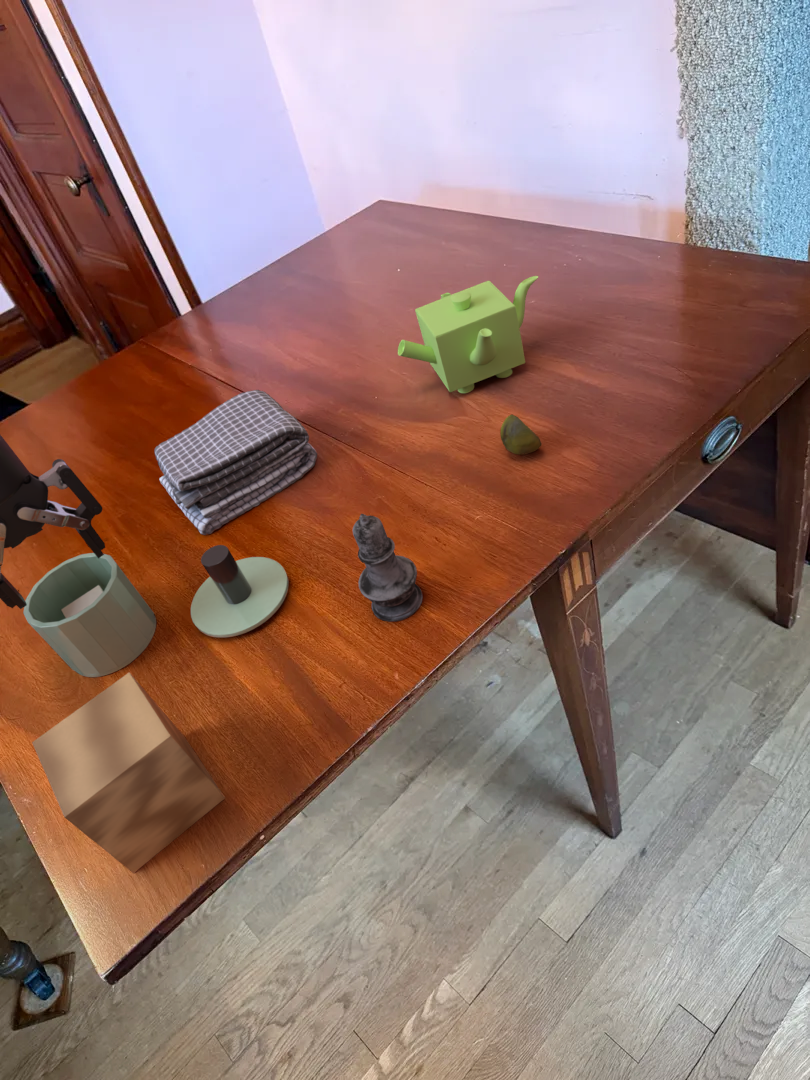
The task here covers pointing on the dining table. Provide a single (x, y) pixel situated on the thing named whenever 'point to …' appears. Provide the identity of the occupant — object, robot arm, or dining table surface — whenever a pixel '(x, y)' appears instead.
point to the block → (82, 602)
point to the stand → (126, 774)
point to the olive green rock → (518, 436)
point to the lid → (237, 593)
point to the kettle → (471, 335)
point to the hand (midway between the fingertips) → (61, 577)
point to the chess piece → (385, 572)
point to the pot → (91, 615)
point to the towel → (234, 459)
